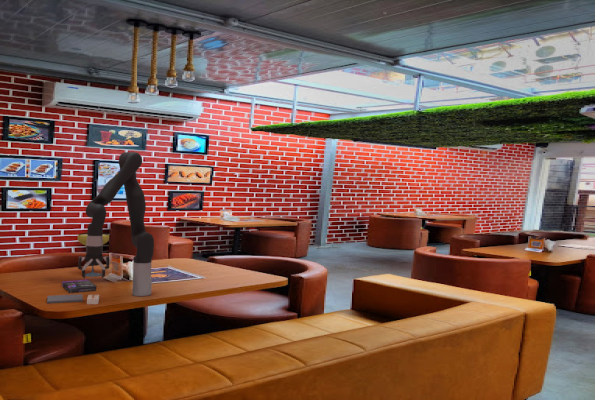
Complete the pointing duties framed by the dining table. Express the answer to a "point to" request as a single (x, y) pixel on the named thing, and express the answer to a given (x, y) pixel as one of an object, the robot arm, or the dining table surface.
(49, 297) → the rubber mat
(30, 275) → the dining table surface
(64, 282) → the box
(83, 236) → the cocktail glass
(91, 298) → the white rectangular block
